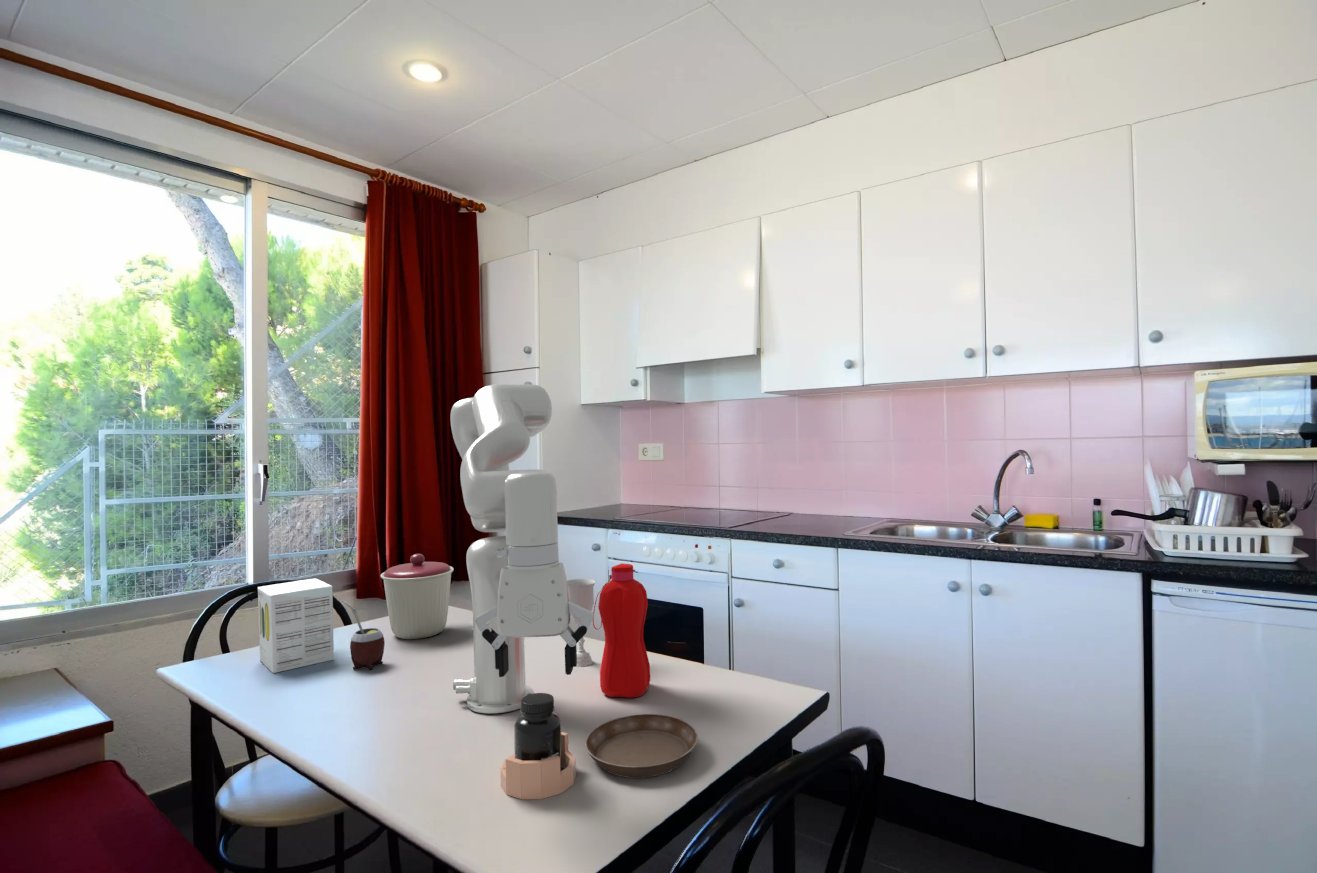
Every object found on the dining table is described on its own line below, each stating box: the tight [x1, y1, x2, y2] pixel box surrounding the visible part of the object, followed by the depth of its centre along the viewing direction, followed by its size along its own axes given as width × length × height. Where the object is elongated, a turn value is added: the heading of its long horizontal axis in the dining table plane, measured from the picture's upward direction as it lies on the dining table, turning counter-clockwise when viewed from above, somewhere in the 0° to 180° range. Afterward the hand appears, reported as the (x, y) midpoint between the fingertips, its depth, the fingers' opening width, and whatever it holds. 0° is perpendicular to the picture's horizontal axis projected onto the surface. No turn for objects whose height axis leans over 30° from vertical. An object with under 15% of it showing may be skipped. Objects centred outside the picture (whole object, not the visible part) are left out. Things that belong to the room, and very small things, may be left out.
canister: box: [380, 553, 454, 640], centre depth 176 cm, size 18×18×21 cm
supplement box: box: [257, 577, 335, 674], centre depth 157 cm, size 13×13×18 cm
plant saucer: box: [584, 713, 699, 779], centre depth 105 cm, size 18×18×3 cm
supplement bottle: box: [513, 692, 563, 772], centre depth 98 cm, size 7×7×12 cm
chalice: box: [567, 578, 596, 668], centre depth 149 cm, size 7×7×18 cm
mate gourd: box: [342, 599, 385, 672], centre depth 151 cm, size 8×8×15 cm
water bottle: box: [592, 562, 651, 699], centre depth 132 cm, size 9×11×25 cm
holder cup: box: [499, 731, 577, 800], centre depth 98 cm, size 11×11×5 cm
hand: (536, 672), depth 98 cm, fingers open, 9 cm apart
